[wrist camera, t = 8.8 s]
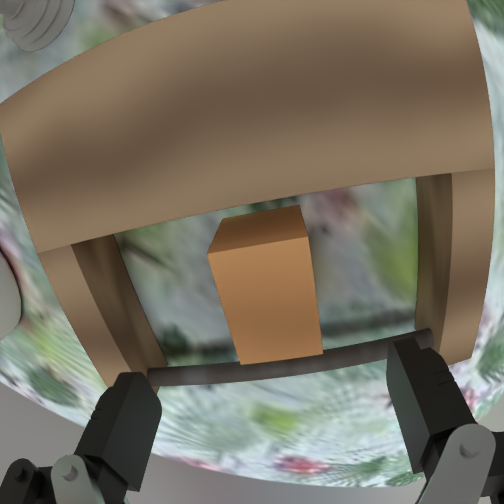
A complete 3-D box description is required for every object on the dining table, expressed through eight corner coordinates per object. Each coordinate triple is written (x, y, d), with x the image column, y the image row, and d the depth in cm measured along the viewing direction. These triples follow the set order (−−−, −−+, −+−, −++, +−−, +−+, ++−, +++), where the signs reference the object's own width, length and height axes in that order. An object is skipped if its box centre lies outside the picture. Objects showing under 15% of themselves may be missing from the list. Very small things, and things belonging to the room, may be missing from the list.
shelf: (41, 102, 14) (-5, 107, 11) (426, 13, 11) (463, -7, 8) (138, 365, 22) (119, 405, 18) (446, 320, 19) (471, 357, 15)
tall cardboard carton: (222, 218, 17) (206, 253, 13) (298, 204, 16) (308, 236, 12) (247, 312, 19) (240, 364, 15) (314, 302, 19) (323, 353, 15)
